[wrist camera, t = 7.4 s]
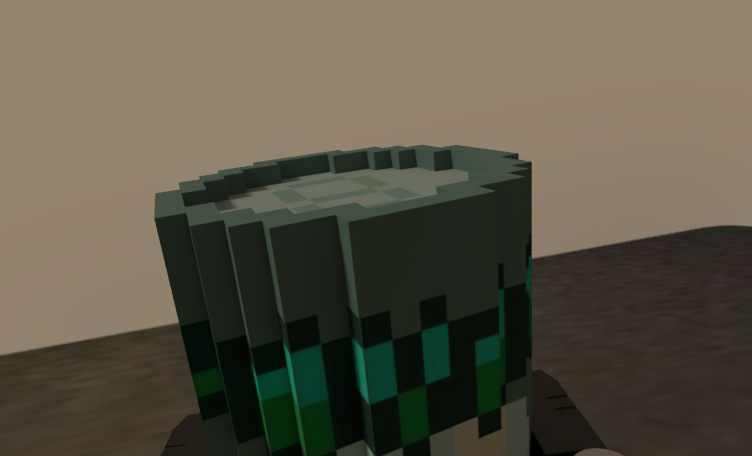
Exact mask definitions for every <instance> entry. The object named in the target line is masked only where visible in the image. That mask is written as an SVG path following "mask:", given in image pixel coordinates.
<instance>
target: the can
mask: <svg viewBox="0 0 752 456" xmlns="http://www.w3.org/2000/svg"><path fill="white" fill-rule="evenodd" d="M253 164H254V165H253V166H246V167H240V168H233V169H226V170H220V171H218V174H213V175H206V176H200V179H199V180H193V181H186V182H180V183H179V186H180V190H174V191H168V192H162V193H156V194H155V218H154V219H155V222H156V227H157V231H158V236H159V240H160V244H161V248H162V252H163V257H164V261H165V265H166V269H167V273H168V277H169V282H170V286H171V290H172V295H173V299H174V303H175V307H176V311H177V316H178V320H179V324H180V328H181V332H182V337H183V341H184V345H185V349H186V353H187V358H188V362H189V366H190V370H191V374H192V379H193V383H194V387H195V391H196V396H197V400H198V404H199V408H200V412H201V417H202V421H203V425H204V429H205V433H206V438H207V442H208V446H209V450H210V454H211V456H531V407H532V256H531V255H532V253H531V252H532V249H531V248H532V246H531V245H532V244H531V243H532V234H531V232H532V231H531V230H532V227H531V226H532V224H531V223H532V220H531V219H532V216H531V215H532V214H531V213H532V211H531V210H532V208H531V207H532V206H531V205H532V203H531V202H532V194H531V193H532V192H531V191H532V187H531V186H532V185H531V184H532V175H531V174H532V171H531V170H532V166H531V165H532V162H529V161H523V160H518V154H517V153H510V152H503V151H496V150H488V149H481V148H474V147H466V146H459V145H454V146H447V147H442V148H439V147H433V146H426V145H417V146H411V147H402V146H394V147H388V148H379V147H371V148H365V149H359V150H352V151H345V152H343V151H339V150H336V151H330V152H323V153H316V154H309V155H303V156H296V157H290V158H284V159H276V160H269V161H263V162H256V163H253Z"/></svg>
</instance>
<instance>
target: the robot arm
mask: <svg viewBox="0 0 752 456" xmlns="http://www.w3.org/2000/svg"><path fill="white" fill-rule="evenodd" d="M161 456H211V454H210V450H209V446H208V442H207V438H206V433H205V429H204V425H203V421H202V417H201V412H200V413H198V414H190V415H188V416H187V417H186V418H185V419H184V420H183V421H182V422H181V423H180V424H179V425H178V426H177V427H176V428H175V429H174V430H173V431H172V433H171V436H170V438H169V440H168V442H167V444H166V446H165V450H163V452H162V454H161ZM531 456H624V455H622V454H620V453H617V452H614V451H611V450H608V449H607V448H606V446H605V445H604V444H603V442H602V441H601V440H600V438H599V437H598V435H597V434H596V433H595V431H594V430H593V429H592V427H591V426H590V425H589V423H588V422H587V421H586V419H585V418H584V417H583V415H582V414H581V412H580V411H579V410H578V409H576V406H575V404H574V403H573V402H572V400H571V399H570V398H569V397H568V396H567V394H566V392H565V391H564V389H563V388H562V387H561V385H560V384H559V383H558V381H557V380H555V379H554V378H552V377H551V376H549V375H548V374H546V373H545V372H543V371H541V370H536V371H532V407H531Z"/></svg>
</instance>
